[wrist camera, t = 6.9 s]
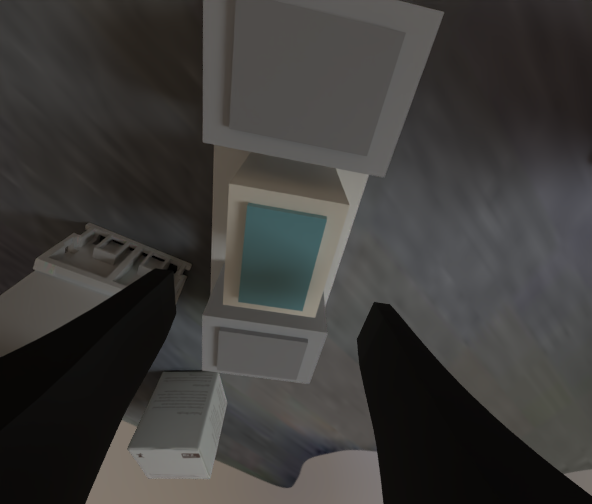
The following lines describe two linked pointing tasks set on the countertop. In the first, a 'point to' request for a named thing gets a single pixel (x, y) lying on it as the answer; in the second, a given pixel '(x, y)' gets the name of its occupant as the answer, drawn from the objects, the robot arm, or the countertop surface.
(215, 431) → the skincare box
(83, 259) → the circuit breaker
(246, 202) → the block
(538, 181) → the countertop surface
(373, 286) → the countertop surface
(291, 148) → the rail board
